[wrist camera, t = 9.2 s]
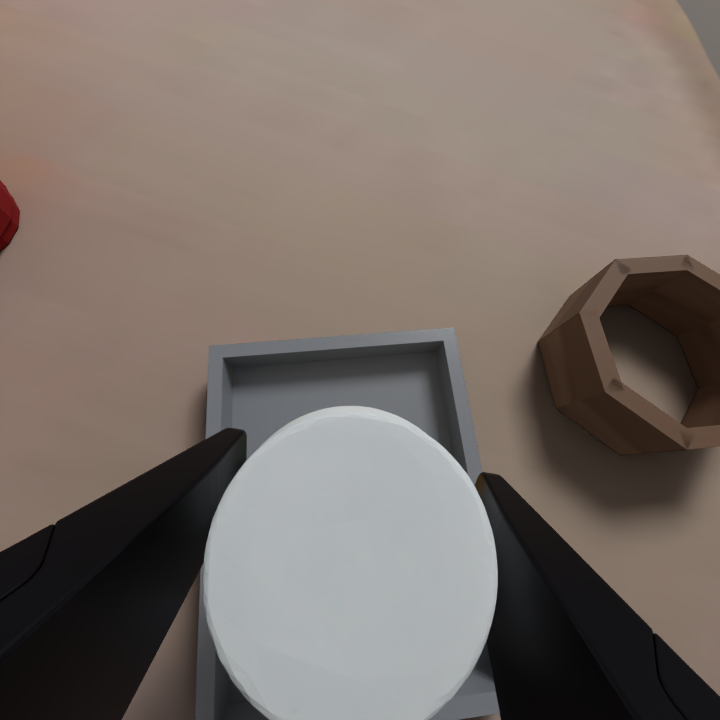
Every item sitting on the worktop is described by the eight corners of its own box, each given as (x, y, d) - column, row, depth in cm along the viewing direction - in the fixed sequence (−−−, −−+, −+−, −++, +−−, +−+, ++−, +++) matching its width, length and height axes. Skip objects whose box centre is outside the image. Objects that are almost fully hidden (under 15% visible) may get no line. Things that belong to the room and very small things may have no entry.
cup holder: (736, 443, 17) (829, 435, 14) (569, 460, 17) (625, 456, 13) (671, 288, 20) (736, 251, 17) (525, 298, 20) (563, 262, 16)
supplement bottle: (376, 619, 13) (451, 976, 4) (250, 539, 13) (43, 664, 4) (439, 480, 14) (602, 477, 5) (324, 414, 15) (289, 311, 6)
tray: (500, 673, 14) (529, 709, 12) (218, 714, 13) (193, 760, 11) (441, 345, 18) (454, 327, 16) (225, 362, 18) (209, 345, 15)
